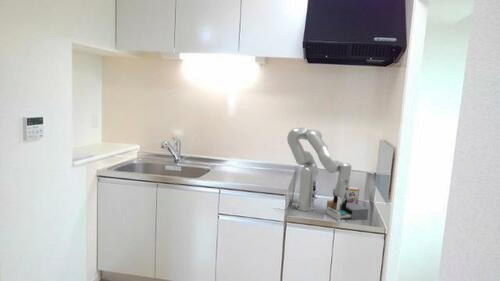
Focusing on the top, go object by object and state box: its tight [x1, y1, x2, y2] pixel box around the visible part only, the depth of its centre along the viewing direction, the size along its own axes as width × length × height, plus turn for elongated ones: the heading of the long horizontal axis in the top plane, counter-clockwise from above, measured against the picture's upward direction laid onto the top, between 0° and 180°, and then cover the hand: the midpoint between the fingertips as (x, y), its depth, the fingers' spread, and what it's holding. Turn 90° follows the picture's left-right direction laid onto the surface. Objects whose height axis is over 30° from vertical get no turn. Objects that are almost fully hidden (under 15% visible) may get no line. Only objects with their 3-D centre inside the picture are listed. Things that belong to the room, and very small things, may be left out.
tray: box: [326, 206, 351, 221], centre depth 226 cm, size 14×14×5 cm
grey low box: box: [339, 203, 369, 221], centre depth 230 cm, size 13×14×7 cm
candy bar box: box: [341, 186, 360, 204], centre depth 245 cm, size 11×5×16 cm, turn 77°
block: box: [326, 199, 338, 211], centre depth 241 cm, size 5×5×6 cm
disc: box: [335, 209, 346, 216], centre depth 226 cm, size 7×7×2 cm
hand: (339, 205), depth 226 cm, fingers open, 9 cm apart
